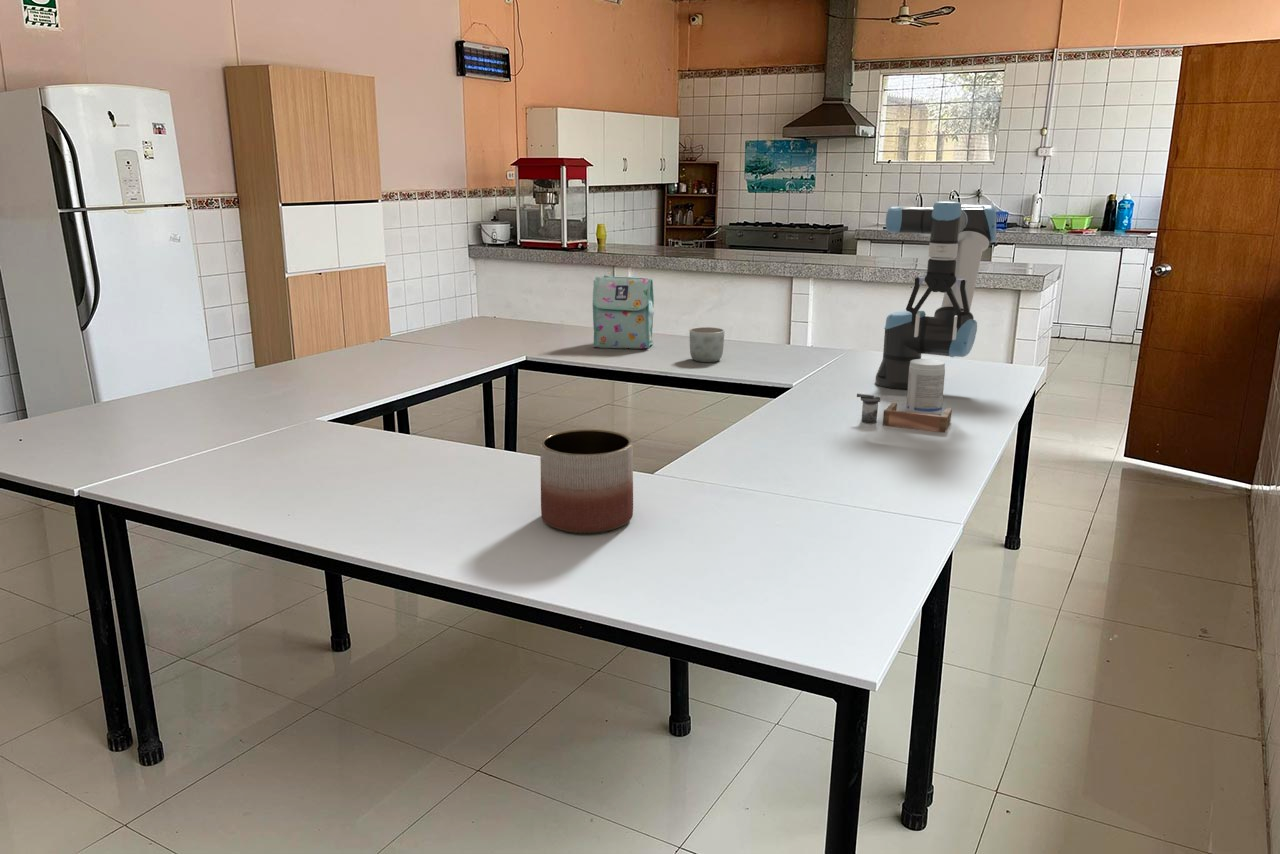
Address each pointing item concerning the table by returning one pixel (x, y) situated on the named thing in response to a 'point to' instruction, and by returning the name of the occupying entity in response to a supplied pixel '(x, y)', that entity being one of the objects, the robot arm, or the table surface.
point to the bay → (916, 419)
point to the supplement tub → (925, 386)
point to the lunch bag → (623, 312)
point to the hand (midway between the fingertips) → (934, 337)
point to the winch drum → (869, 408)
